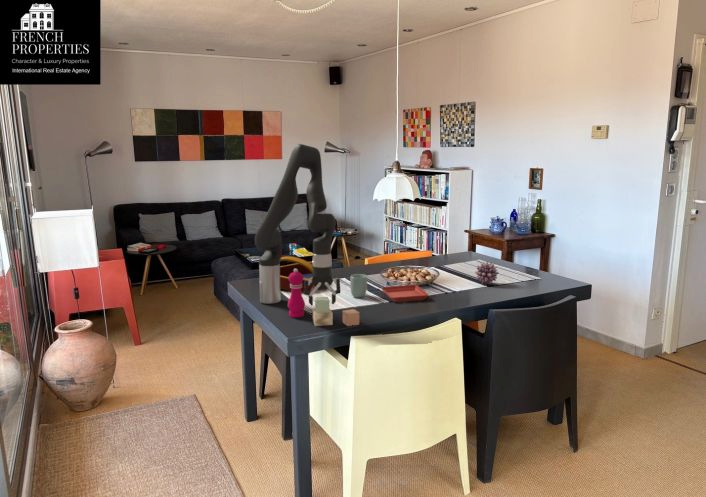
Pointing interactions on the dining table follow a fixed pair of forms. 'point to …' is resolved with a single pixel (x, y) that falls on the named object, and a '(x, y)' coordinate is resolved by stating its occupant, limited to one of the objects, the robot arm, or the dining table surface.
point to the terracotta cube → (350, 317)
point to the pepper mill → (296, 295)
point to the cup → (358, 285)
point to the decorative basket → (285, 271)
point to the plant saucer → (405, 293)
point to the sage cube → (322, 304)
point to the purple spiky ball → (486, 273)
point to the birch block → (322, 318)
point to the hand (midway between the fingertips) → (322, 304)
